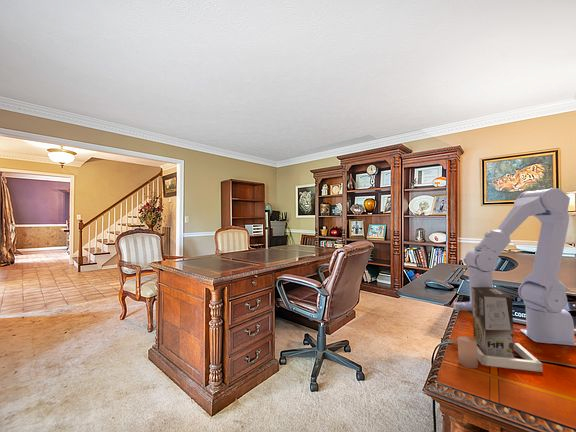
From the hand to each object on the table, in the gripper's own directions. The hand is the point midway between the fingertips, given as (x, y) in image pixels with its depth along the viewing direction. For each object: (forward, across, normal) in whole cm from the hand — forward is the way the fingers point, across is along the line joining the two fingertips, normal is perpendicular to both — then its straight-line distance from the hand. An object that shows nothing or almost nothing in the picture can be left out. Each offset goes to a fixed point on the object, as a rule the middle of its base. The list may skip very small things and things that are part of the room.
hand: (483, 335), depth 77 cm
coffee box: (+1, 0, +7) cm, 7 cm away
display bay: (+1, 0, +11) cm, 11 cm away
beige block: (+1, +9, +16) cm, 18 cm away
